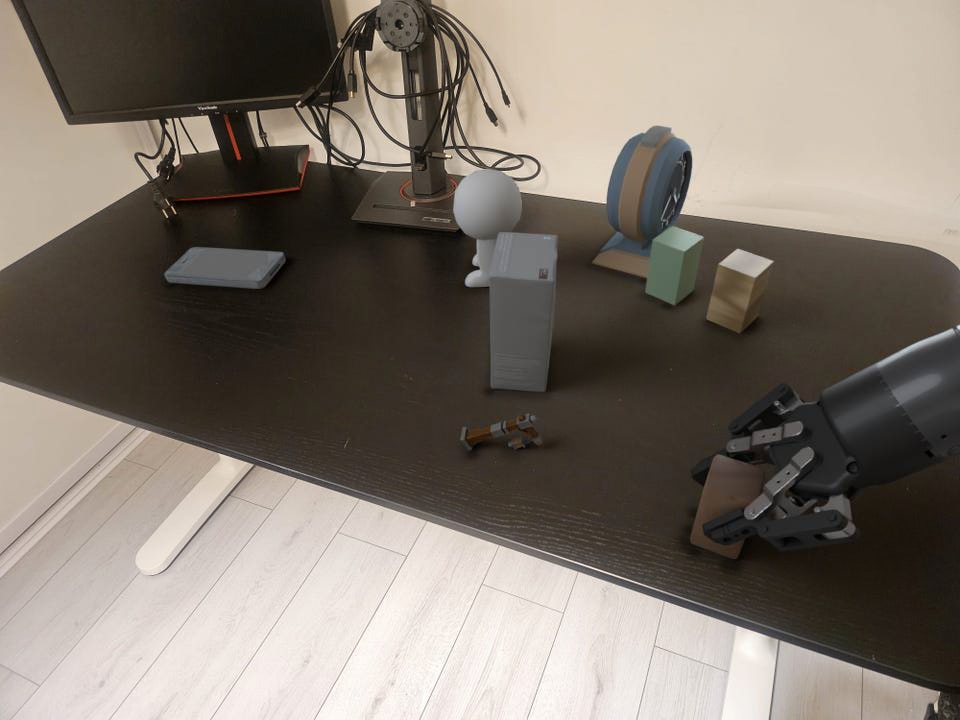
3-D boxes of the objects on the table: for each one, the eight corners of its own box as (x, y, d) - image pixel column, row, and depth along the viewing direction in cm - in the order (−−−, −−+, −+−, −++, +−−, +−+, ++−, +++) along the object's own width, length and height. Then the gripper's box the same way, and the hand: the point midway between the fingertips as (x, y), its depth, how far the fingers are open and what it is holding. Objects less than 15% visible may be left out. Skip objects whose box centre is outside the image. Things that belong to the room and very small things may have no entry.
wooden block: (736, 562, 51) (758, 505, 46) (688, 544, 53) (703, 487, 48) (745, 525, 54) (767, 467, 49) (699, 509, 55) (715, 451, 50)
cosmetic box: (497, 344, 75) (491, 228, 64) (556, 346, 74) (559, 229, 63) (488, 392, 68) (480, 273, 58) (552, 396, 67) (555, 275, 57)
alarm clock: (655, 285, 82) (674, 157, 70) (588, 266, 86) (596, 143, 75) (691, 236, 91) (713, 115, 79) (628, 222, 95) (641, 105, 83)
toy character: (466, 254, 91) (458, 156, 81) (527, 257, 89) (526, 158, 79) (453, 289, 84) (442, 187, 74) (518, 293, 82) (516, 189, 73)
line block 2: (757, 316, 76) (774, 261, 70) (739, 334, 73) (755, 278, 68) (724, 302, 78) (737, 248, 73) (705, 319, 76) (718, 264, 71)
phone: (263, 289, 87) (260, 282, 86) (164, 282, 90) (160, 275, 89) (287, 259, 93) (285, 251, 92) (194, 253, 96) (191, 246, 95)
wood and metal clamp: (551, 448, 61) (532, 419, 58) (480, 466, 64) (459, 438, 61) (551, 435, 62) (533, 405, 59) (482, 452, 65) (461, 425, 62)
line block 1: (693, 290, 81) (704, 236, 75) (674, 305, 78) (684, 251, 73) (664, 278, 83) (672, 225, 78) (644, 292, 81) (652, 239, 76)
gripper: (849, 312, 45) (662, 420, 55) (940, 463, 35) (688, 566, 44) (898, 366, 48) (713, 460, 58) (996, 521, 38) (749, 606, 47)
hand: (703, 505), depth 51 cm, fingers closed on wooden block, 5 cm apart
